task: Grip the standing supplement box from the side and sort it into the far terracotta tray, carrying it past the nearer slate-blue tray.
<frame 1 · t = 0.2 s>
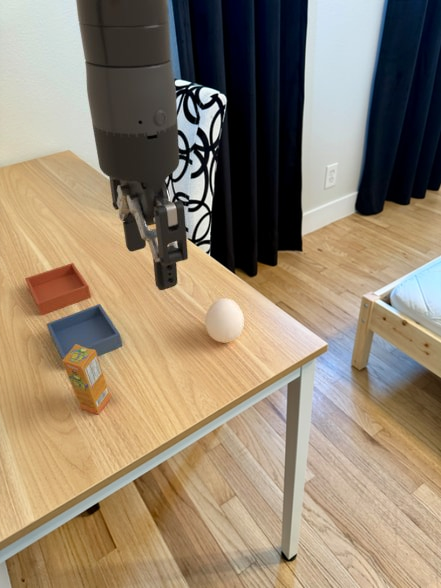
hand: (150, 266, 48), 21 cm above the table, tool pointing down, fingers open, 8 cm apart
egg: (225, 338, 69), on the table
terracotta tray: (59, 293, 79), on the table
blue tray: (86, 340, 69), on the table
supplement box: (95, 404, 59), on the table
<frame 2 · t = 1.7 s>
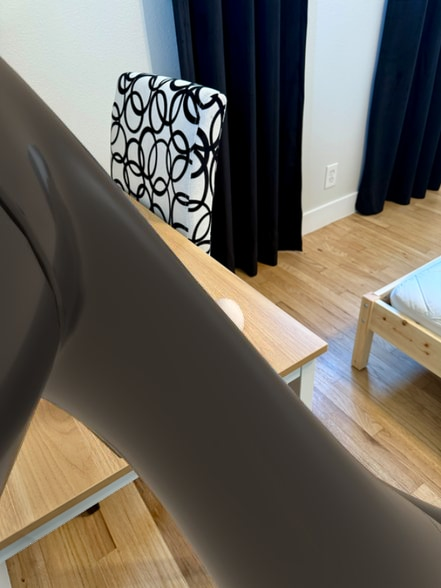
hand: (115, 337, 41), 20 cm above the table, tool horizontal, fingers open, 8 cm apart
nothing on the table moved.
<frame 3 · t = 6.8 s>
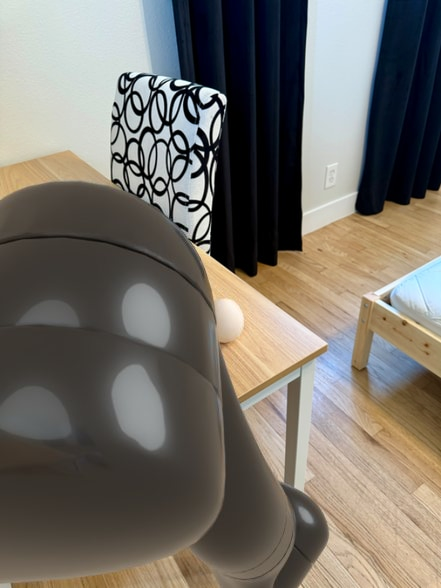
hand: (71, 353, 56), 8 cm above the table, tool horizontal, fingers closed on supplement box, 4 cm apart
supplement box: (95, 404, 59), on the table, touching gripper
everything else where it was.
when the fingers open (9 cm above the table, at t = 15.2 s): supplement box stays where it is, resting on terracotta tray.
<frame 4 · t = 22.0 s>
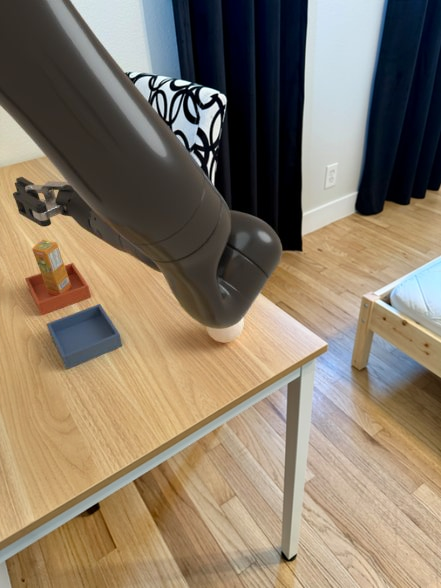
hand: (51, 174, 57), 26 cm above the table, tool horizontal, fingers open, 8 cm apart
supplement box: (59, 291, 79), resting on terracotta tray
everything else where it was.
at the end: supplement box 0.2 cm off-centre in the terracotta tray, point 0.4 cm above the terracotta tray's base; supplement box tilted 0°; supplement box touching terracotta tray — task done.
